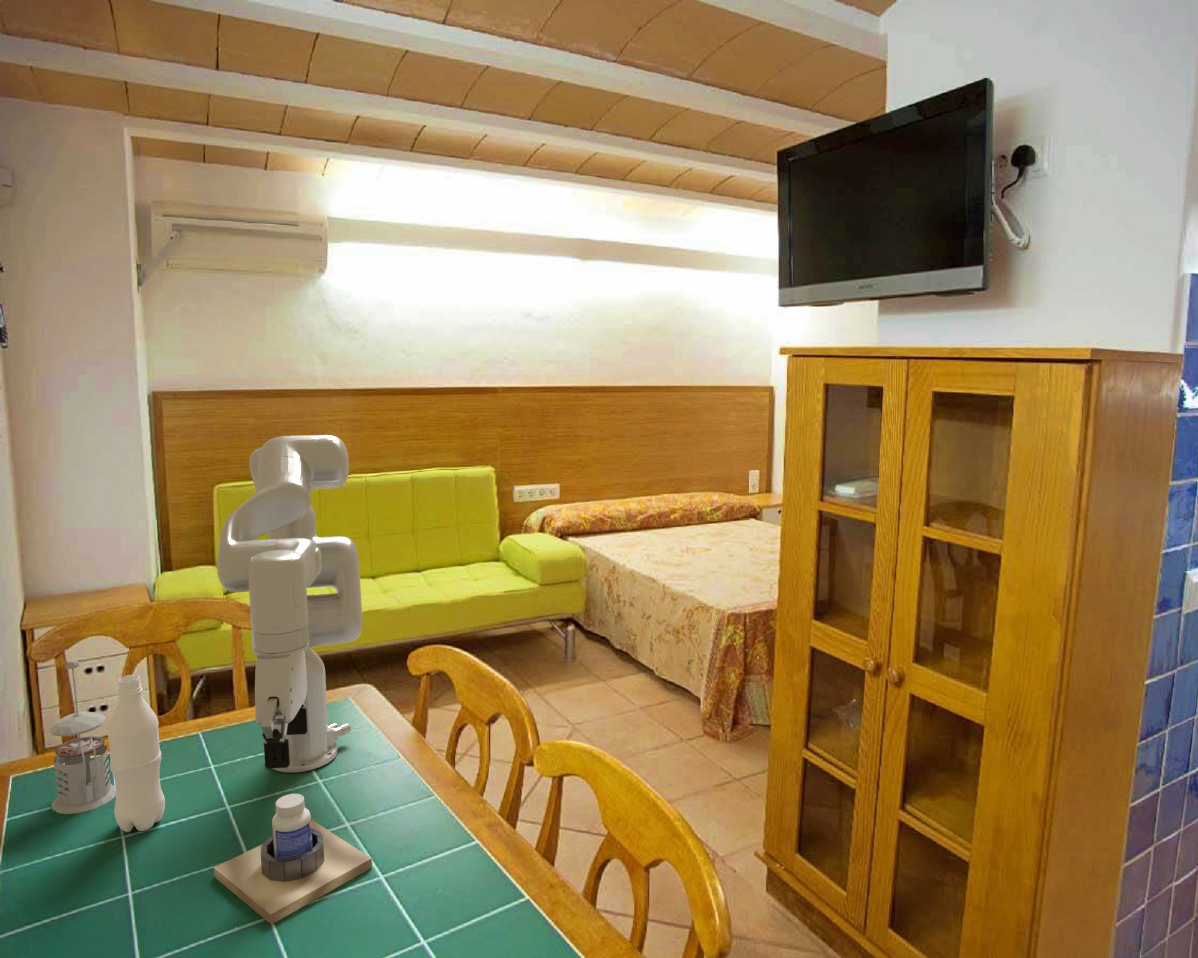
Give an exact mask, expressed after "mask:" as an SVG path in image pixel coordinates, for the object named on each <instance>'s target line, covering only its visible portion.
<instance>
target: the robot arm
mask: <svg viewBox="0 0 1198 958" xmlns="http://www.w3.org/2000/svg"><path fill="white" fill-rule="evenodd" d="M248 462H249V463H248V464H249V472H250V476H251V479H252V482H253V485H254V488H255V494H254V495H253V496H251V497H250V498H248V499H247V500H246V501H244V502H243V503H242V504H240V505H239V506H238V507H237V508H236V509H235V510H233V512H232V513H231V514H230V515H229V516H228V518H226V519H225V522H224V524H223V527H222V529H221V532H220V537H219V543H218V544H219V545H218V553H217V561H216V564H217V565H216V568H217V569H216V570H217V576H218V580H219V582H220V584H221V586H222V587H223V588H224V589H225V590H227V591H229V592H233V593H248V592H249V593H248V594H249V596H248V598H249V610H250V612H249V613H250V624H251V625H250V626H251V642H252V643H251V644H252V653H253V654H254V655H256V660H255V661H256V663H255V672H254V673H255V674H254V678H255V679H254V701H255V702H254V705H255V709H254V710H255V722H256V723H257V725H261V729H262V734H261V736H262V737H263V738H262V743H263V754H264V767H265V769H272V770H274V771H277V772H280V773H302V772H303V773H304V772H307V771H308V772H309V771H311V770H316V769H319V768H321V767H323V766H325V765H327V764H329V763H330V762H331V761H332V760H334V759H335V758H336V756H337V755H338V745H337V743H336V742H335V741H336V740H338V738H339V737H342V736H345V735H347V734H349V733H351V732H352V731H351V730H352V728H351V725H350V724H349V723H344V724H341V725H339V726H338V724H337V723H332V724H330V725H328V707H327V706H328V705H327V683H326V682H327V681H326V668H325V664H324V662H323V659H322V658H321V657H320V656H319V655H318V654H317V652H315V651H314V650H313V648H312V647H318V646H328V645H329V646H331V645H339V644H347V643H352V642H354V641H356V640H358V638H360V636H361V633H362V628H363V609H362V593H361V589H362V588H361V574H360V573H361V572H360V571H361V569H360V560H359V559H360V558H359V553H358V548H357V546H356V544H355V542H354V540H352V539H351V538H350V537H347V536H342V535H341V536H340V535H339V536H338V535H334V536H318V534H317V515H316V514H317V513H316V511H315V509H314V507H313V506H312V490H318V489H319V490H320V489H321V490H322V489H337V488H341V487H343V486H344V485H346V482H347V480H348V477H349V472H350V460H349V453H348V449H347V446H346V444H345V443H344V442H343V440H342V439H341V438H340V437H337V436H335V435H331V434H314V435H313V434H312V435H311V434H309V435H303V434H302V435H281V436H276V437H273V438H271V439H269V440H267V441H266V442H265V443H263V445H262V447H258V448H257V449H255V450H254V451H252V452H251V454H250V456H249V460H248ZM266 534H267V535H268V539H267V538H266V539H258V538H259V537H262V536H264V535H266ZM325 587H326V588H327V587H331V588H333V589H335V590H336V593H335V592H334V593H333V592H332V593H322V594H307V593H308V592H307V589H312V588H325Z"/></svg>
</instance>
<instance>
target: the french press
mask: <svg viewBox="0 0 1198 958" xmlns="http://www.w3.org/2000/svg"><path fill="white" fill-rule="evenodd" d="M78 667H80V663H79V661H78V660H76V659H71V660H68V661H67V662H66V663H65V668H66V669H68V670H71V671H72V672H71V673H72V682H73V683H72V684H73V692H74V702H75V703H74V704H75V712H74V713H70V714H68V715H66V716H64V717H62V718H60V719H58V720H57V721H56V722H54V723H53V724H52V725H51V726H50V727H49V732H50V733H51V735H53V736H56V737H62V738H63V737H74V736H78V737H77V738H73V739H71V740H70V739H69V740H67V741H66V742H64V743H62V744H60V745H58V746H57V747H56V748H55V751H54V752H55V755H56V756H55V757H54V758H53V759H54V760H53V766H54V767H53V768H54V770H57V771H55V772H54V775H55V777H57V778H55V783H56V784H58V785H56V791H59V792H56V796H57V797H56V798H55V799H54V801H52V803H51V810H52V809H53V810H52V811H54V810H55V811H56V812H58V813H57V814H64V815H70V814H71V815H72V814H79V813H83V812H88V811H91V810H94V809H97V808H99V807H102V806H104V805H106V804H107V803H109V802H111V801H112V800H113V799H115V798H116V785H113V784H112V783H111V778H110V761H109V757H108V756H109V755H108V746H107V745H106V744H105V739H104V738H103V737H101V736H94V735H92V736H91V735H90V736H89V735H88V736H82V737H81V735H83V734H87V733H89V732H92V731H93V730H96V729H98V728H99V727H100V726H101V725H102V724H104V722H105V721H106V716H105V715H103V714H102V713H98V712H94V711H92V712H91V711H78V710H79V709H78V699H77V691H76V690H77V689H76V688H77V687H76V677H75V669H76V668H78ZM91 756H93V757H94V758H91ZM106 768H107V769H106ZM62 773H63V774H62ZM62 780H64V781H62ZM63 787H64V788H63ZM55 811H54V812H55ZM56 812H55V813H56Z"/></svg>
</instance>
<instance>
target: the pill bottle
mask: <svg viewBox="0 0 1198 958" xmlns="http://www.w3.org/2000/svg"><path fill="white" fill-rule="evenodd" d="M305 803H306V802H305V796H304V795H302V794H300V793H290V794H286V795H282V796H281V797H279V798H278V799H277V800H276V801H275V814H274V816H273V817H272V821H271V829H272V831H271V832H272V836H273V845H274V858H279V859H289V858H294V857H299V856H301V855H303V854H305V853H307V852H309V851H311V850H312V849H313V845H312V829H311V821H312V817H311V812H310V810H309V809H308V808H307V807H306V806H305Z"/></svg>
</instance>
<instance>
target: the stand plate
mask: <svg viewBox="0 0 1198 958" xmlns="http://www.w3.org/2000/svg"><path fill="white" fill-rule="evenodd" d="M311 828H314V829H316V830H317V831H319V832H321V833H322V834H323V843H324V862H323V863H322V865H321V866H320V867H319V868H318V870H316V871H315V872H313V873H311V874H310V875H308V876H306V877H304V878H302V879H297V880H292V881H288V882H280V881H271V880H269V879H268V878H266V877H265V876H264V875H263V874H262V867H261V846H262V845H263V844H264V843H261V844H260V845H258V846H256V847H253V848H252V849H250V850H248V851H245V852H244V853H242V854H239V855H238V856H235V857H233V858H231V859H229V860H226V861H225V862H223V863H220V864H219V865H216V866H215V867H213V872H214V875H213V876H214V878H215V879H216V880H217V881H218V882H220V883H221V884H222V885H223V886H225V887H226V889H228V890H230V892H231V893H233V894H234V895H235V896H237V897H238V898H239V899H240V900H241V901H242V902H244V903H245V904H246V905H247V906H248V907H249V908H251V909H252V910H253V911H254V912H256V913H257V914H258V915H259V916H260V917H262V918H263V919H264V920H265V921H266V922H267V923H269V925H273V924H275V923H277V922H279V921H280V920H282V919H284V918H286V917H288V916H289V915H291V914H293V913H294V912H297V911H298V910H299V909H301V908H303V907H305V906H307V905H309V904H311V903H312V902H314V901H316V900H317V899H319V898H321V897H323V896H324V895H327V894H328V893H330V892H332V891H334V890H335V889H337V888H338V887H340V886H343V885H344V884H346V883H347V882H349V881H351V880H353V879H354V878H357V877H358V876H359V875H362V874H363V873H365V872H366V871H369V870H371V869H372V868H373V860H372V857H370V856H369V855H367V854H366V853H365V852H363V851H361V850H360V849H358V848H356V847H354V845H351V844H350V843H348V842H347V841H346V840H344V839H342V838H340V837H339V836H338V835H336V834H335V833H333V832H331V831H330V830H329V829H327V828H325V827H324V826H322V825H320V824H319V823H318V822H317V821H314V820H312V819H311Z"/></svg>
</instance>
